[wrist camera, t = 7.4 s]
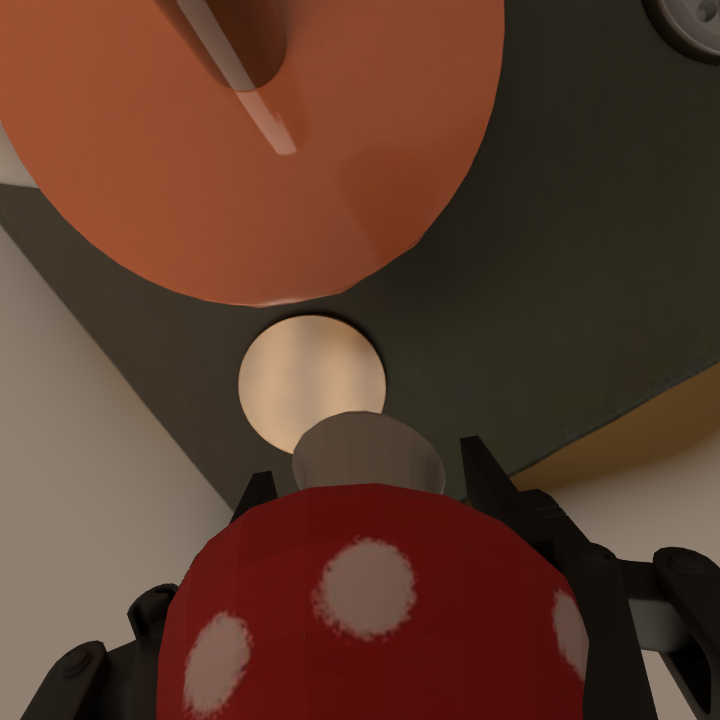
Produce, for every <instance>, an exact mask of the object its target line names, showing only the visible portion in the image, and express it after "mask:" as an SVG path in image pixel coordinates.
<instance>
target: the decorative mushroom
mask: <svg viewBox="0 0 720 720" xmlns="http://www.w3.org/2000/svg"><path fill="white" fill-rule="evenodd" d="M292 469H293V473H294V476H295V479H296V482H297V485H298V487H299V489H300V490H301V491H298V492H295V493H292V494H289V495H287V496H284V497H281V498H278V499H275V500H272V501H269V502H267V503H264V504H261V505H258V506H255V507H252V508H250V509H249V510H248V511H247V512H245V513H244V514H243V515H241V516H240V517H239V518H238V519H236V520H235V521H234V522H232V523H231V524H230V525H228V526H227V527H226V528H225V529H224V530H222V531H221V532H220V533H218V534H217V535H216V536H214V537H213V538H212V539H210V540H209V541H208V542H207V544H206V545H205V546H204V548H203V549H202V550H201V552H200V553H199V554H198V556H197V557H196V559H195V560H194V562H193V564H192V565H191V567H190V569H189V571H188V573H187V574H186V576H185V578H184V580H183V582H182V583H181V585H180V587H179V589H178V591H177V592H176V594H175V596H174V598H173V600H172V601H171V603H170V605H169V607H168V612H167V617H166V622H165V627H164V633H163V638H162V643H161V648H160V653H159V662H158V680H157V698H156V720H583V712H582V702H583V693H584V684H585V675H586V666H587V657H588V648H589V639H588V636H587V632H586V629H585V626H584V623H583V620H582V616H581V613H580V610H579V607H578V604H577V600H576V597H575V594H574V593H573V591H572V589H571V587H570V585H569V583H568V581H567V579H566V578H565V576H564V575H563V574H562V573H560V572H559V571H558V570H557V569H556V568H555V567H554V566H553V565H551V564H550V563H549V562H548V561H547V560H546V559H545V558H544V557H542V556H541V555H540V554H539V553H538V552H537V551H536V550H535V549H533V548H532V547H531V546H530V545H529V544H528V543H527V542H526V541H524V540H523V539H522V538H521V537H520V536H519V535H518V534H516V533H515V532H514V531H513V530H512V529H510V528H509V527H508V526H507V525H506V524H504V523H503V522H502V521H500V520H497V519H495V518H493V517H491V516H489V515H486V514H484V513H482V512H480V511H478V510H476V509H473V508H471V507H469V506H467V505H465V504H463V503H460V502H458V501H456V500H454V499H452V498H450V497H447V496H445V495H443V491H444V486H445V481H446V477H445V472H444V468H443V463H442V460H441V459H440V457H439V456H438V454H437V452H436V451H435V449H434V448H433V446H432V445H431V443H429V442H428V441H427V440H426V439H424V438H423V437H422V436H421V435H420V434H418V433H417V432H416V431H415V430H414V429H412V428H411V427H409V426H407V425H406V424H404V423H402V422H400V421H398V420H396V419H394V418H391V417H389V416H387V415H384V414H379V413H374V412H369V411H347V412H343V413H340V414H337V415H334V416H330V417H328V418H326V419H324V420H322V421H320V422H318V423H317V424H316V425H314V426H313V427H312V428H310V429H309V430H308V431H306V432H305V433H304V434H303V435H302V437H301V438H300V440H299V442H298V443H297V445H296V447H295V448H294V452H293V461H292Z"/></svg>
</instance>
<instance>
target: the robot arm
mask: <svg viewBox="0 0 720 720" xmlns="http://www.w3.org/2000/svg"><path fill="white" fill-rule="evenodd" d="M643 1H644V4H645V7H646V10H647V12H648V14H649V17H650V19H651V21H652V22H653V24H654V26H655V27H656V29H657V30H658V32H659V33H660V34H661V36H662V37H663V38H664V39H665V40H666V41H667V42H668V43H669V44H670V45H671V46H672V47H674V48H675V49H676V50H677V51H679V52H680V53H682V54H684V55H685V56H687V57H690V58H692V59H694V60H697V61H700V62H703V63H708V64H715V65H720V0H643ZM460 443H461V451H462V458H463V466H464V474H465V481H466V489H467V496H468V498H469V500H470V502H471V504H472V506H473V508H474V509H476V510H478V511H480V512H482V513H484V514H486V515H489V516H491V517H493V518H495V519H497V520H500V521H502V522H503V523H504V524H506V525H507V526H508V527H509V528H510V529H512V530H513V531H514V532H515V533H516V534H518V535H519V536H520V537H521V538H522V539H523V540H524V541H526V542H527V543H528V544H529V545H530V546H531V547H532V548H533V549H535V550H536V551H537V552H538V553H539V554H540V555H541V556H542V557H544V558H545V559H546V560H547V561H548V562H549V563H550V564H551V565H553V566H554V567H555V568H556V569H557V570H558V571H559V572H560V573H562V574H563V575H564V576H565V578H566V579H567V581H568V583H569V585H570V587H571V589H572V591H573V593H574V594H575V597H576V600H577V604H578V607H579V610H580V613H581V616H582V620H583V623H584V626H585V629H586V632H587V636H588V639H589V648H588V657H587V666H586V675H585V684H584V693H583V702H582V712H583V720H658V717H657V713H656V709H655V705H654V701H653V697H652V693H651V689H650V685H649V681H648V677H647V673H646V669H645V665H644V661H643V657H642V653H641V649H642V650H649V651H656V652H658V653H659V654H660V656H661V658H662V660H663V661H664V663H665V665H666V666H667V668H668V670H669V672H670V673H671V675H672V677H673V679H674V680H675V682H676V684H677V685H678V687H679V689H680V691H681V692H682V694H683V696H684V698H685V699H686V701H687V703H688V704H689V706H690V708H691V710H692V711H693V713H694V714H695V717H696V718H697V720H720V568H719V567H718V566H717V565H716V564H715V563H714V562H712V561H711V560H710V559H709V558H708V557H706V556H704V555H702V554H699V553H698V552H696V551H692V550H689V549H685V548H680V547H666V548H661V549H659V550H658V551H656V552H655V553H654V557H653V563H650V562H637V561H627V560H621V559H618V558H616V556H615V554H613V553H612V552H611V551H610V550H608V549H607V548H605V547H603V546H601V545H599V544H596V543H591V542H590V541H589V540H588V539H587V538H586V536H585V535H584V534H583V533H582V532H581V531H580V530H579V528H578V527H577V526H576V525H575V524H574V522H573V521H572V520H571V519H570V518H569V517H568V516H567V515H566V513H565V512H564V511H563V510H562V508H560V507H559V505H558V504H557V503H556V501H555V500H554V499H553V498H552V497H551V496H550V495H548V494H546V493H545V492H543V491H541V490H539V489H534V490H528V491H522V492H519V491H518V490H517V489H516V487H515V486H514V484H513V483H512V482H511V480H510V479H509V478H508V476H507V475H506V473H505V472H504V471H503V469H502V468H501V467H500V465H499V464H498V462H497V461H496V460H495V458H494V457H493V456H492V454H491V453H490V452H489V450H488V449H487V447H486V446H485V445H484V443H483V442H482V441H481V439H480V438H479V436H472V437H466V438H460ZM275 499H278V496H277V492H276V489H275V485H274V481H273V477H272V473H271V471H266V472H260V473H254V474H253V476H252V478H251V480H250V482H249V484H248V486H247V488H246V490H245V492H244V494H243V496H242V498H241V501H240V503H239V505H238V507H237V509H236V511H235V513H234V515H233V517H232V519H231V521H230V523H229V525H230V524H231V523H232V522H234V521H235V520H236V519H238V518H239V517H240V516H241V515H243V514H244V513H245V512H247V511H248V510H249V509H250V508H252V507H255V506H258V505H261V504H264V503H267V502H269V501H272V500H275ZM200 552H201V551H200ZM198 554H199V553H198ZM198 554H197V555H196V557H197V556H198ZM196 557H195V558H194V560H195V559H196ZM194 560H193V562H194ZM193 562H192V564H193ZM192 564H191V565H192ZM190 567H191V566H190ZM188 571H189V570H188ZM188 571H187V573H188ZM187 573H186V574H187ZM185 576H186V575H185ZM184 578H185V577H184ZM183 580H184V579H183ZM183 580H182V582H183ZM182 582H181V583H182ZM180 585H181V584H180ZM179 587H180V586H179ZM179 587H178V586H177V585H175V584H172V583H171V584H162V585H159V586H156V587H154V588H152V589H150V590H148V591H146V592H145V593H144V594H142V595H141V596H140V597H139V598H137V599H136V600H135V602H134V603H133V604H132V605H131V606H130V608H129V611H128V613H127V615H128V618H129V621H130V623H131V626H132V629H133V631H134V634H135V637H136V640H134V641H132V642H130V643H128V644H126V645H123V646H121V647H118V648H116V649H113V650H111V651H109V652H107V651H106V649H105V646H104V644H103V642H100V641H97V640H96V641H91V642H87V643H84V644H81V645H79V646H77V647H75V648H74V649H72V650H70V651H69V652H67V653H66V654H65V655H64V656H63V657H61V658H60V659H59V660H58V661H57V662H56V663H55V664H54V666H53V667H52V668H51V670H50V671H49V672H48V674H47V676H46V677H45V679H44V680H43V682H42V684H41V686H40V687H39V689H38V691H37V692H36V694H35V696H34V697H33V699H32V701H31V702H30V704H29V706H28V707H27V709H26V711H25V712H24V714H23V716H22V717H21V719H20V720H156V698H157V680H158V662H159V653H160V648H161V643H162V638H163V633H164V627H165V622H166V617H167V612H168V607H169V605H170V603H171V601H172V600H173V598H174V596H175V594H176V592H177V591H178V589H179Z"/></svg>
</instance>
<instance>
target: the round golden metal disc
mask: <svg viewBox="0 0 720 720" xmlns="http://www.w3.org/2000/svg"><path fill="white" fill-rule="evenodd" d="M238 391H239V397H240V402H241V405H242V408H243V411H244V413H245V415H246V417H247V419H248V421H249V422H250V424H251V425H252V427H253V428H254V429H255V430H256V431H257V432H258V434H259V435H261V436H262V437H263V438H264V439H265V440H266V441H268V442H269V443H271V444H272V445H273V446H275V447H277V448H279V449H281V450H283V451H286V452H288V453H292V454H293V452H294V448H295V447H296V445H297V443H298V442H299V440H300V438H301V437H302V435H303V434H304V433H305V432H306V431H308V430H309V429H310V428H312V427H313V426H314V425H316V424H317V423H318V422H320V421H322V420H324V419H326V418H328V417H330V416H334V415H337V414H340V413H343V412H347V411H369V412H374V413H379V414H381V413H382V409H383V406H384V403H385V397H386V378H385V373H384V369H383V365H382V362H381V360H380V357H379V355H378V353H377V351H376V350H375V348H374V346H373V345H372V344H371V342H370V341H369V340H368V339H367V338H366V337H365V336H364V335H363V334H362V333H361V332H360V331H359V330H357V329H356V328H355V327H353V326H352V325H350V324H348V323H347V322H344V321H342V320H340V319H338V318H334V317H331V316H327V315H320V314H303V315H297V316H292V317H289V318H286V319H284V320H281V321H279V322H277V323H275V324H274V325H272V326H270V327H269V328H268V329H266V330H265V331H264V332H262V333H261V334H260V335H259V336H258V337H257V338H256V339H255V340H254V342H253V343H252V344H251V346H250V347H249V348H248V350H247V352H246V354H245V356H244V358H243V361H242V363H241V367H240V371H239V378H238Z"/></svg>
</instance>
